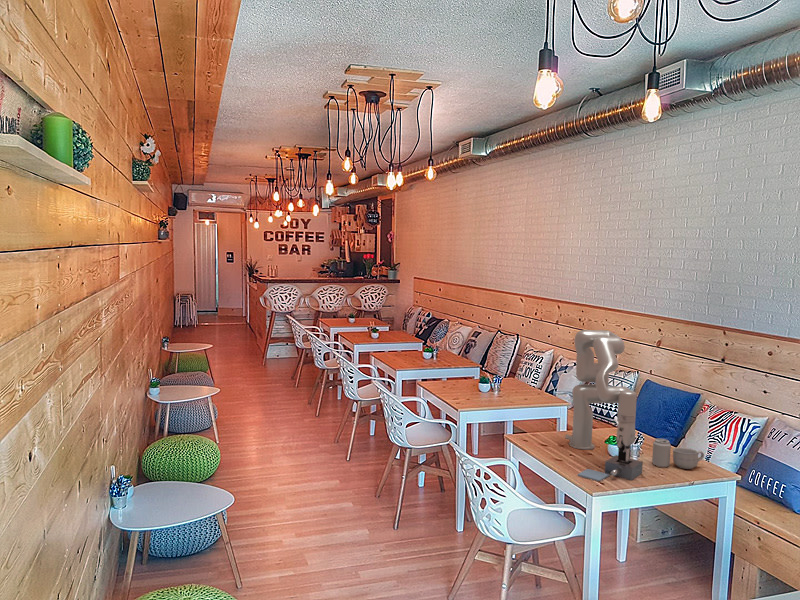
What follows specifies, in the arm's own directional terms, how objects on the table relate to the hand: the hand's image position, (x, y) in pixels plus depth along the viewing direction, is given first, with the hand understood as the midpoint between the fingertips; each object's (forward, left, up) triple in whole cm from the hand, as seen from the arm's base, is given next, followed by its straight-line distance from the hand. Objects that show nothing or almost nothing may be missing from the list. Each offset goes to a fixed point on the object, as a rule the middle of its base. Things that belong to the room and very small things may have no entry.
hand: (624, 458), depth 268 cm
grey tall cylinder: (0, 0, -6) cm, 6 cm away
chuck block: (0, -3, -7) cm, 7 cm away
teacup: (+18, +31, -7) cm, 37 cm away
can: (+8, +24, -7) cm, 26 cm away
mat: (-8, -13, -7) cm, 17 cm away
